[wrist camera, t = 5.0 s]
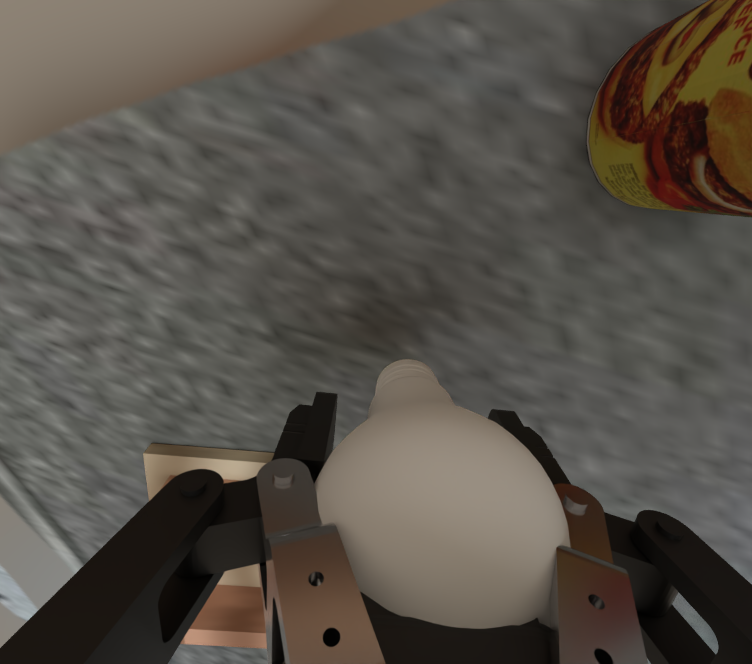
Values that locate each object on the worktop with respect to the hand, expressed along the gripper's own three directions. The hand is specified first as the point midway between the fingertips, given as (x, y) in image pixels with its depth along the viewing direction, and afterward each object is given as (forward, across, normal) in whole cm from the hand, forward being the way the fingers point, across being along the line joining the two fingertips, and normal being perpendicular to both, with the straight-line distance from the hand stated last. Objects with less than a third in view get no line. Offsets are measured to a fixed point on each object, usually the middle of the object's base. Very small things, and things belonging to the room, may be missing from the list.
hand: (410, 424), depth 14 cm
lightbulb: (+4, 0, 0) cm, 4 cm away
